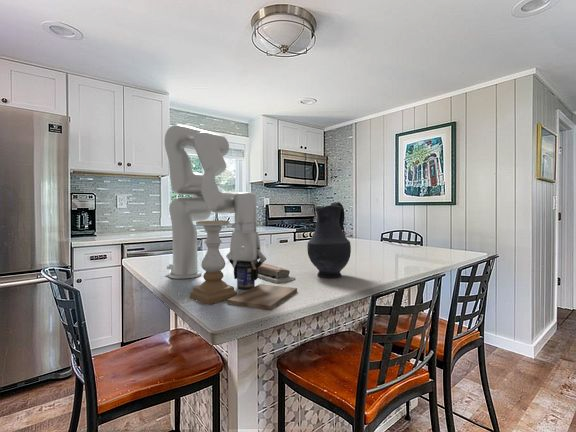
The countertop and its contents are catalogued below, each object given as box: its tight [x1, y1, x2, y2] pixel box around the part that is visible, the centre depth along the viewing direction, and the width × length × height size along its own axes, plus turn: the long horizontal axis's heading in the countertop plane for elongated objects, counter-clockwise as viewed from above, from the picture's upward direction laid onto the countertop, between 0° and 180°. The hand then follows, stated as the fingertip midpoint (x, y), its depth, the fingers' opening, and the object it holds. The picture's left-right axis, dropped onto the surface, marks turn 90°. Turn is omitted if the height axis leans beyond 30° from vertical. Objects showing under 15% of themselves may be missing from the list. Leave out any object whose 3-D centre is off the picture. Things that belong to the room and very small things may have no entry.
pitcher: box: [306, 201, 352, 279], centre depth 131 cm, size 17×21×30 cm
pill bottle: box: [236, 261, 256, 291], centre depth 112 cm, size 6×6×11 cm
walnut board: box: [226, 283, 298, 311], centre depth 100 cm, size 14×20×1 cm
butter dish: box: [257, 262, 296, 284], centre depth 128 cm, size 18×5×10 cm
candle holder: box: [189, 220, 238, 306], centre depth 100 cm, size 11×11×24 cm
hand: (245, 278), depth 112 cm, fingers closed on pill bottle, 6 cm apart
